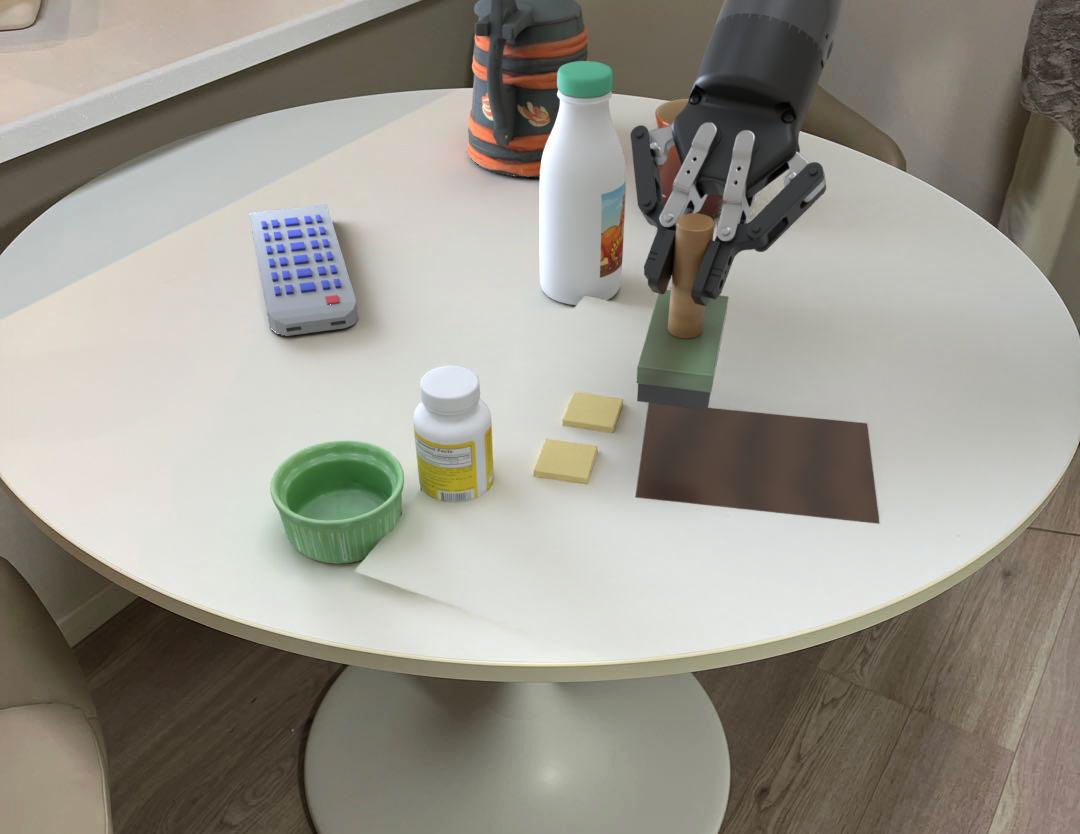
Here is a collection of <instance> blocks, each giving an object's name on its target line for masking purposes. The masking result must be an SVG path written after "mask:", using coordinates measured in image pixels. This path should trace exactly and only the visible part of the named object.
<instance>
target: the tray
mask: <svg viewBox="0 0 1080 834" xmlns="http://www.w3.org/2000/svg"><path fill="white" fill-rule="evenodd" d="M647 404H648V405H647V413H646V418H645V426H644V432H643V440H642V448H641V454H640V460H639V461H640V462H639V469H638V475H637V483H636V488H635V497H634V498H637V499H646V500H653V501H654V500H655V501H663V502H664V501H665V502H674V503H683V504H690V505H691V504H693V505H703V506H710V507H711V506H712V507H719V508H728V509H729V508H730V509H738V510H747V511H755V512H756V511H758V512H765V513H776V514H785V515H794V516H804V517H812V518H821V519H830V520H831V519H832V520H841V521H849V522H850V521H851V522H860V523H869V524H870V523H871V524H877V525H878V524H880V515H879V507H878V500H877V491H876V484H875V475H874V467H873V459H872V451H871V444H870V435H869V427H868V423H867V422H858V421H849V420H848V421H847V420H839V419H829V418H828V419H827V418H819V417H818V418H816V417H808V416H807V417H806V416H798V415H797V416H796V415H787V414H777V413H766V412H757V411H746V410H736V409H727V408H715V407H708V410H701V409H693V408H686V407H678V406H670V405H662V404H655V403H647Z"/></svg>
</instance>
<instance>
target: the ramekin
mask: <svg viewBox="0 0 1080 834" xmlns="http://www.w3.org/2000/svg"><path fill="white" fill-rule="evenodd" d="M404 485H405V473H404V469H403V466H402V464H401V463H400V461H399V460H398V459H397V458H396V456H395V455H394V454H393V453H391V452H390V451H388V450H387V449H385V448H383V447H381V446H379V445H376V444H373V443H370V442H366V441H360V440H350V439H349V440H348V439H347V440H346V439H343V440H331V441H325V442H320V443H316V444H313V445H310V446H306V447H304V448H303V449H300V450H298V451H296V452H294V453H293V454H291V455H290V456H288V457H287V458H285V460H283V461H282V462H281V464H279V465H278V467H277V468H276V469H275V470H274V473H273V474H272V477H271V480H270V484H269V486H270V487H269V490H270V496H271V499H272V501H273V504H274V506H275V507H276V509H277V510H278V513H279V516H280V519H281V522H282V526H283V530H284V532H285V535H286V537H287V539H288V541H289V543H290V544H291V546H292V547H293V548H294V549H295V550H296V551H297V552H298V553H300V554H301V555H303V556H305V557H307V558H309V559H311V560H313V561H317V562H321V563H327V564H349V563H354V562H359V561H362V560H365V559H366V558H367V556H368V555H370V553H371V552H372V551H373V550H374V548H375V547H376V546H377V545H378V543H380V541H381V540H382V539H383V538H384V537H386V536H387V535H389V533H391V532H392V531H393V529H394V528H395V527H396V526H397V524H398V522H399V521H400V518H401V517H402V514H403V506H402V505H403V503H402V501H403V491H404Z"/></svg>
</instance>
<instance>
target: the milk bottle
mask: <svg viewBox="0 0 1080 834" xmlns="http://www.w3.org/2000/svg"><path fill="white" fill-rule="evenodd" d="M613 84H614V73H613V70H612V68H611V67H610V66H609V65H608V64H605V63H602V62H598V61H592V60H591V61H590V60H589V61H577V62H571V63H567V64H565V65H563V66H561V67H560V68H559V70H558V73H557V87H558V93H557V96H558V98H559V99H560V107H559V112H558V115H557V119H556V122H555V125H554V127H553V130H552V132H551V134H550V136H549V138H548V141H547V143H546V145H545V148H544V152H543V156H542V160H541V168H540V177H539V190H538V191H539V194H538V195H539V198H538V201H539V205H538V206H539V207H538V208H539V209H538V210H539V212H538V214H539V215H538V216H539V217H538V221H539V222H538V223H539V224H538V225H539V227H538V230H539V231H538V232H539V233H538V234H539V236H538V238H539V241H538V243H539V248H538V249H539V285H540V287H541V289H542V292H544V294H545V295H546V296H547V297H548V298H549V299H552V300H553V301H556V302H559V303H562V304H565V305H573V306H577V305H578V304H579V303H580V302H581V301H582V299H583V298H584V297H585V296H586V297H589V298H594V299H598V300H602V301H608V300H610V299H612V298H613V297H614V296H615V295H616V294H617V293H618V292H619V290H620V288H621V284H622V274H623V257H624V256H623V254H624V235H625V218H626V217H625V215H626V213H625V212H626V189H627V188H626V187H627V186H626V185H627V182H626V181H627V179H626V177H627V175H626V174H627V171H626V170H627V169H626V159H625V154H624V151H623V150H624V149H623V146H622V144H621V141H620V138H619V135H618V133H617V131H616V128H615V125H614V123H613V119H612V115H611V111H610V100H611V98H612V97H613V93H612V89H613Z"/></svg>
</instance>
